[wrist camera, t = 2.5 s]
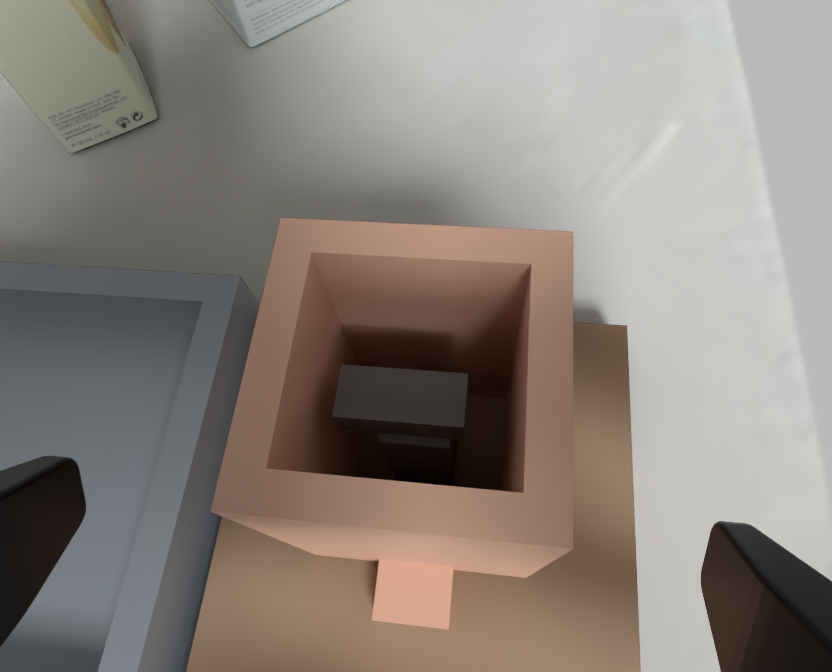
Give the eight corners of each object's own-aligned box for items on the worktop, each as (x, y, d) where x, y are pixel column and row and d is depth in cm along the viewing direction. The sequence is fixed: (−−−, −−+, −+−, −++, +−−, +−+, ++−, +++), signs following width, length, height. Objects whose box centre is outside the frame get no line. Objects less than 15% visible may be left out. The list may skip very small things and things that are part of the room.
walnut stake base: (632, 847, 15) (765, 1029, 9) (183, 777, 17) (-9, 888, 10) (616, 344, 21) (688, 215, 14) (282, 321, 22) (204, 194, 16)
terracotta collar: (523, 638, 16) (573, 656, 9) (305, 611, 17) (187, 608, 10) (531, 375, 19) (573, 231, 12) (346, 362, 20) (280, 217, 13)
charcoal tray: (165, 775, 17) (101, 809, 14) (-246, 711, 18) (-385, 730, 15) (269, 320, 22) (240, 275, 20) (-49, 299, 24) (-123, 254, 21)
